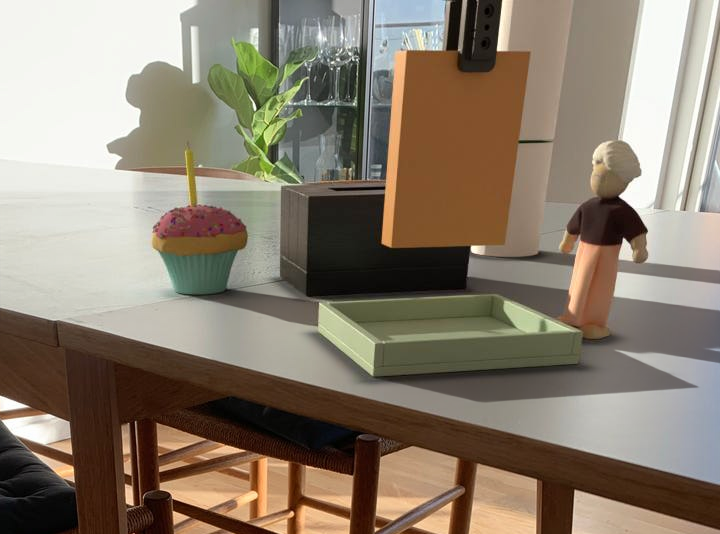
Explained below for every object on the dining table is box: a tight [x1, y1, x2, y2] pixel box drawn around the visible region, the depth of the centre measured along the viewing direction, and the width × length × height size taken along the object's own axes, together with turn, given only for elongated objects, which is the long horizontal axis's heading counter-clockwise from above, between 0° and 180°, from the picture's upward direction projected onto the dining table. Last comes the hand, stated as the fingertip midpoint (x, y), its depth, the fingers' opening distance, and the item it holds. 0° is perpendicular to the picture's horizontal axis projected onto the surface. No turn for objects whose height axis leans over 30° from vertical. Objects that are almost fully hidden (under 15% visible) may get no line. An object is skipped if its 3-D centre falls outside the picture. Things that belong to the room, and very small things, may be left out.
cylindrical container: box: [470, 0, 575, 258], centre depth 97 cm, size 7×7×25 cm
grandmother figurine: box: [554, 139, 649, 340], centre depth 67 cm, size 8×4×13 cm, turn 40°
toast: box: [382, 49, 531, 248], centre depth 60 cm, size 8×2×11 cm, turn 101°
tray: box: [317, 293, 583, 378], centre depth 66 cm, size 14×13×2 cm
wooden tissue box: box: [279, 182, 471, 297], centre depth 87 cm, size 16×10×8 cm, turn 101°
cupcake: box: [151, 139, 249, 296], centre depth 83 cm, size 9×8×12 cm
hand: (466, 71), depth 58 cm, fingers closed on toast, 2 cm apart
